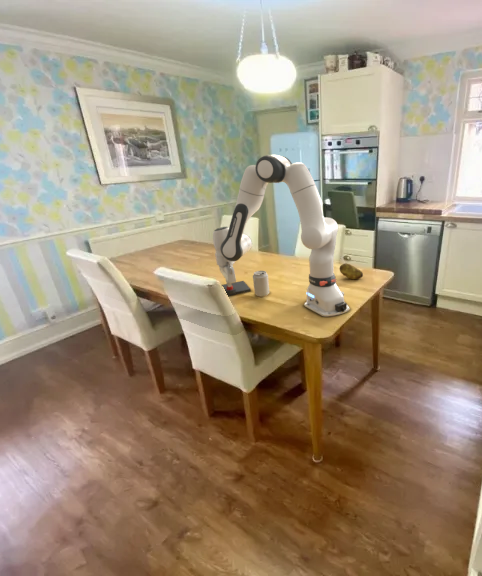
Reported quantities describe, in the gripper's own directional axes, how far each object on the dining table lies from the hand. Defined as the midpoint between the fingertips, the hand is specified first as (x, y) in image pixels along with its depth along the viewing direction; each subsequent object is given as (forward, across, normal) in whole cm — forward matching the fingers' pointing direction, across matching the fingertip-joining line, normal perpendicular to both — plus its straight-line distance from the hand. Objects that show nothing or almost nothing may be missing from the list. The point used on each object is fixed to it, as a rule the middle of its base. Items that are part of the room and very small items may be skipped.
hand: (229, 285), depth 162 cm
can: (+5, -9, -14) cm, 17 cm away
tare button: (+2, 0, 0) cm, 2 cm away
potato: (+4, -13, -65) cm, 67 cm away
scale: (+4, +5, -4) cm, 8 cm away
